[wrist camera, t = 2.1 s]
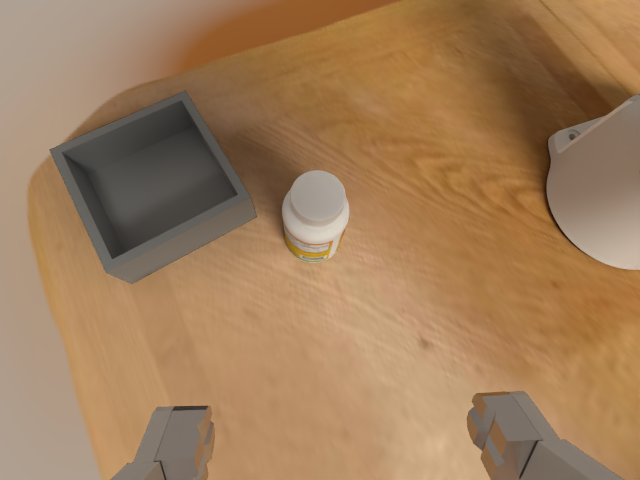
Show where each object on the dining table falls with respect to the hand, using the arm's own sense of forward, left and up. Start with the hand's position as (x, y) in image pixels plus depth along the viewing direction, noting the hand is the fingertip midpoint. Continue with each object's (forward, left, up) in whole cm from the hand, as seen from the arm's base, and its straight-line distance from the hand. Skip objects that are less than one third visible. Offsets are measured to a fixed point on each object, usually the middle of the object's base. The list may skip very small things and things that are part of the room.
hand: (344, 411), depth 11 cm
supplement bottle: (-6, -11, -21) cm, 24 cm away
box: (+4, -22, -21) cm, 30 cm away
